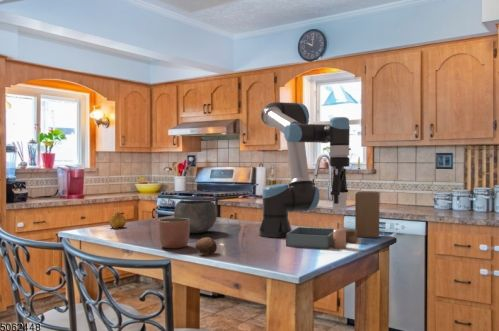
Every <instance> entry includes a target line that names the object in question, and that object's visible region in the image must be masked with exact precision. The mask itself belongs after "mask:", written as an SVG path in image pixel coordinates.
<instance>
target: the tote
mask: <svg viewBox="0 0 499 331" xmlns="http://www.w3.org/2000/svg"><path fill="white" fill-rule="evenodd" d="M333 229H334V228H326V227H322V228H321V227H301V226H298V227H296V228H294V229H292V231H290V232H288V233H286V237H285V246H286V247H291V248H292V247H296V248H309V249H322V250H323V249H324V250H330V248H331V247H333Z"/></svg>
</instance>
